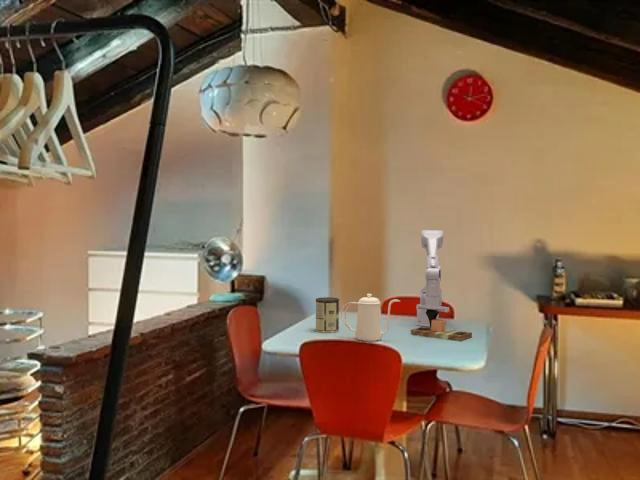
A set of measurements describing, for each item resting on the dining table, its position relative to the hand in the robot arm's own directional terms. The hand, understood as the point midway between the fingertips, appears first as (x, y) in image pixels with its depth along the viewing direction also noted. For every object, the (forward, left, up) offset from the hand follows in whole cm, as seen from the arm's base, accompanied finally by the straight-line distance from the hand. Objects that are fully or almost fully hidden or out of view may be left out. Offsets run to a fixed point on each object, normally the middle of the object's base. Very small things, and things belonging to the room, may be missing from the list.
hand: (432, 327), depth 301 cm
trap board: (+4, 0, -3) cm, 5 cm away
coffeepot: (-16, -25, -3) cm, 30 cm away
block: (+3, 0, -1) cm, 3 cm away
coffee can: (-41, -20, -3) cm, 45 cm away
